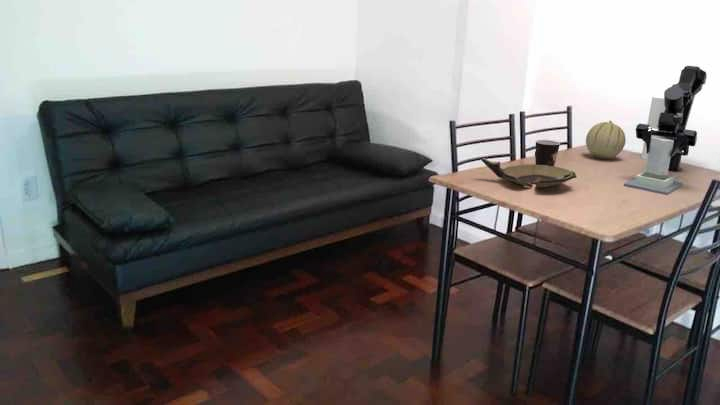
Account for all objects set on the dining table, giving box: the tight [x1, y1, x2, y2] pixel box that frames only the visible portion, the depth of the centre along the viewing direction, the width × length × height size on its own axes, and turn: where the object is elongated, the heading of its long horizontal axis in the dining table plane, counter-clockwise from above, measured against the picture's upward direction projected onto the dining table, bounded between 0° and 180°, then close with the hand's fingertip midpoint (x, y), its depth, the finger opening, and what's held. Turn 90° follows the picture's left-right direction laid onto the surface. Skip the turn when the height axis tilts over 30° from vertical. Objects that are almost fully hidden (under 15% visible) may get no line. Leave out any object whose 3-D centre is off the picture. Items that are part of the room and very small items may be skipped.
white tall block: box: [640, 95, 666, 161], centre depth 245 cm, size 7×7×25 cm
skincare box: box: [644, 137, 674, 175], centre depth 207 cm, size 6×4×12 cm
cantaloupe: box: [585, 120, 627, 159], centre depth 244 cm, size 15×15×15 cm
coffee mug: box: [534, 139, 561, 166], centre depth 224 cm, size 12×9×10 cm
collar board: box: [623, 170, 684, 196], centre depth 209 cm, size 18×14×3 cm
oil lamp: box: [480, 157, 577, 189], centre depth 205 cm, size 22×30×8 cm
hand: (658, 154), depth 206 cm, fingers closed on skincare box, 7 cm apart
